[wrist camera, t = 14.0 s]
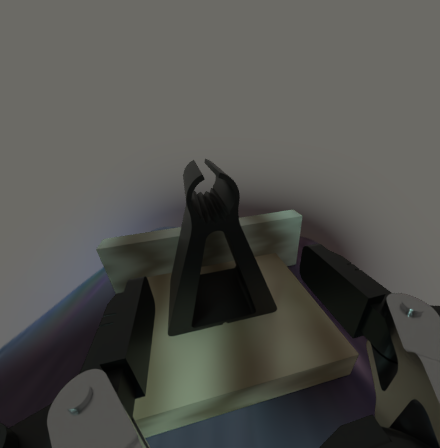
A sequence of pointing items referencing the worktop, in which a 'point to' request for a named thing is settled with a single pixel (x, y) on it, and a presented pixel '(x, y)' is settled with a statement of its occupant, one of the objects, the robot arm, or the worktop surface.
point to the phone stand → (220, 280)
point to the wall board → (229, 328)
